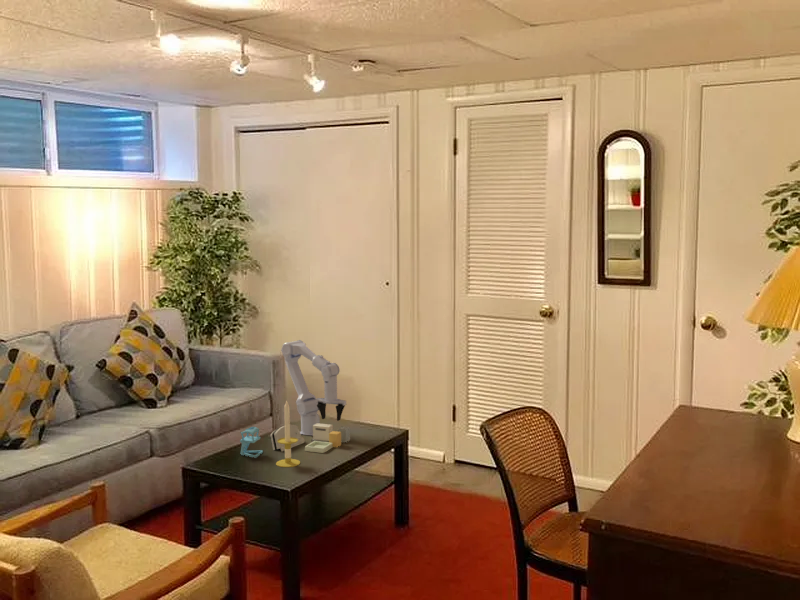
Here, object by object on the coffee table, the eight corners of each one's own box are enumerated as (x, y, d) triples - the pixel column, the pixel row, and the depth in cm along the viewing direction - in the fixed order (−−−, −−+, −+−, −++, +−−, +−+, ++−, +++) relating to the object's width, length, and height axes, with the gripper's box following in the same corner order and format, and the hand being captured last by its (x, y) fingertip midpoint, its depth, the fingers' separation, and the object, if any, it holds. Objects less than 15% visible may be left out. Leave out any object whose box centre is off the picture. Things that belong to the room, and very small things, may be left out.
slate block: (341, 439, 360) (341, 426, 359) (349, 440, 359) (349, 427, 358) (338, 441, 356) (337, 428, 356) (346, 442, 355) (345, 429, 354)
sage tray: (314, 445, 351) (314, 440, 351) (332, 447, 348) (332, 442, 348) (304, 450, 343) (304, 446, 343) (323, 453, 340) (323, 448, 339)
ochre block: (333, 444, 353) (332, 431, 352) (341, 445, 351) (341, 431, 351) (329, 446, 349) (328, 433, 349) (337, 447, 348) (337, 434, 347)
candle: (301, 466, 322) (299, 401, 319) (276, 468, 320) (274, 403, 317) (299, 458, 332) (298, 396, 329) (275, 460, 330) (273, 397, 327)
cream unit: (317, 437, 362) (317, 422, 362) (335, 439, 359) (334, 424, 358) (311, 441, 357) (310, 425, 356) (329, 443, 354) (328, 427, 353)
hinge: (281, 451, 342) (275, 429, 343) (273, 453, 345) (267, 431, 345) (305, 441, 356) (299, 420, 357) (297, 443, 359) (291, 422, 359)
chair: (245, 451, 343) (244, 424, 342) (263, 452, 341) (262, 425, 340) (237, 456, 336) (236, 429, 334) (255, 458, 334) (254, 430, 332)
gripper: (312, 390, 358) (312, 420, 359) (341, 393, 353) (341, 423, 354) (319, 387, 364) (320, 416, 366) (348, 390, 359) (348, 419, 361)
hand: (331, 419), depth 360 cm, fingers open, 7 cm apart
